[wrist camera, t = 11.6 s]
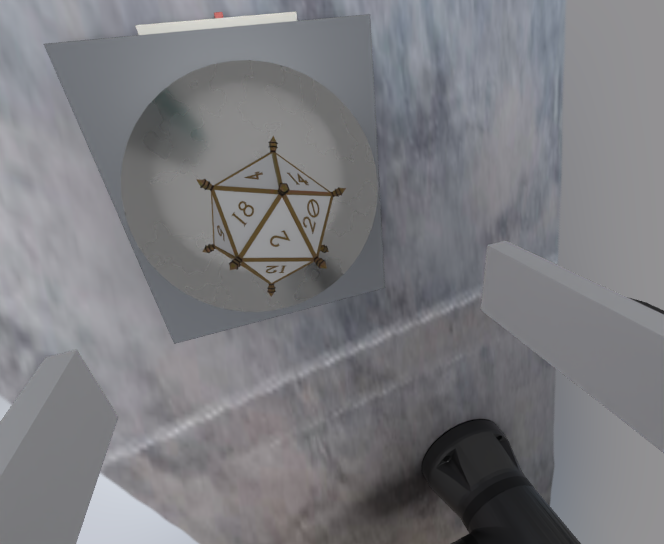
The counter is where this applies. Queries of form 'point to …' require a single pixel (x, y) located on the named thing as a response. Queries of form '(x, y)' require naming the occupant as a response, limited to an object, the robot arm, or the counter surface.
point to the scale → (195, 53)
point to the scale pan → (229, 157)
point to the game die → (270, 218)
